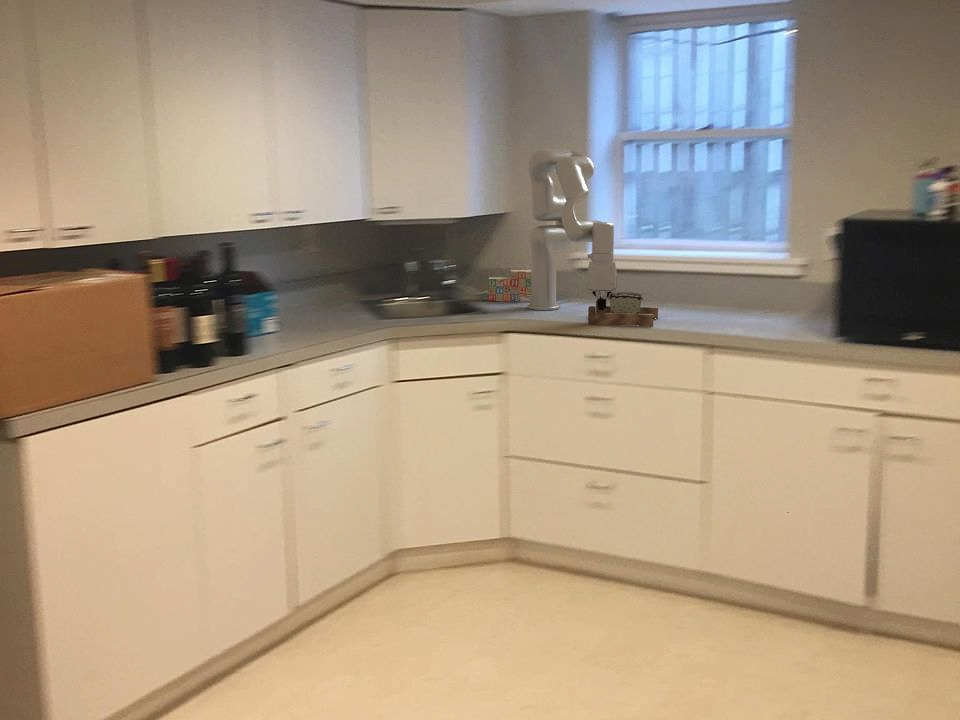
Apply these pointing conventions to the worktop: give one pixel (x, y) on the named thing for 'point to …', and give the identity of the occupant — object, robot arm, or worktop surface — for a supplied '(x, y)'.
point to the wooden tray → (621, 316)
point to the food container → (625, 302)
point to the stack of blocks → (510, 286)
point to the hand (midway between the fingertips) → (601, 309)
